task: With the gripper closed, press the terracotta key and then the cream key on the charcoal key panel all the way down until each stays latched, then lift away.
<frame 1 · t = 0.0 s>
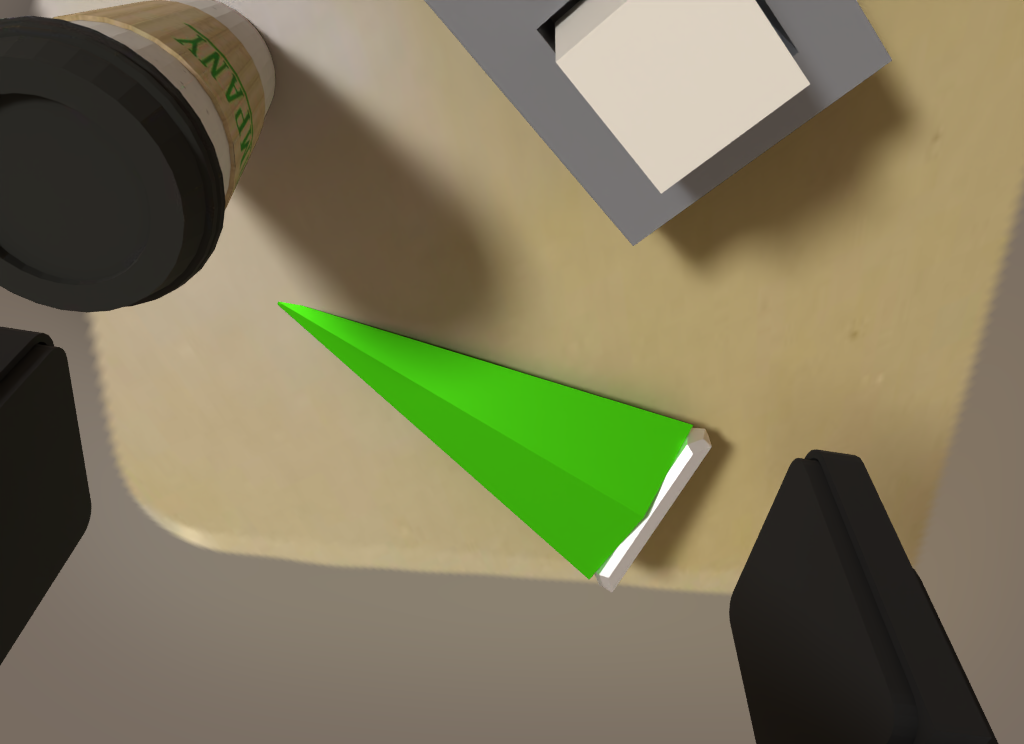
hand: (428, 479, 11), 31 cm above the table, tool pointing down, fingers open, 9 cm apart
green triangular piece: (491, 418, 50), on the table
coffee cup: (209, 67, 39), on the table
cream key: (672, 50, 31), point 8 cm above the table, slide at 0.0 cm
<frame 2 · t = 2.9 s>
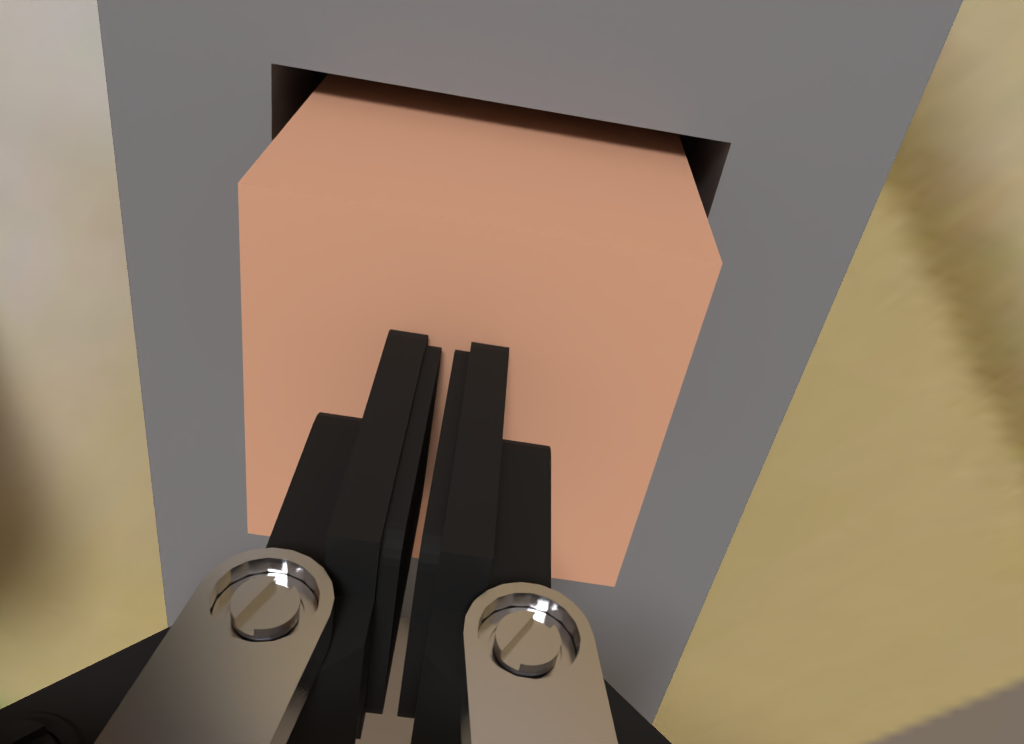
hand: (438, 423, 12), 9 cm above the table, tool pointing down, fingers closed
key panel: (464, 382, 23), on the table
terracotta key: (472, 309, 15), point 6 cm above the table, slide at 1.3 cm, touching gripper
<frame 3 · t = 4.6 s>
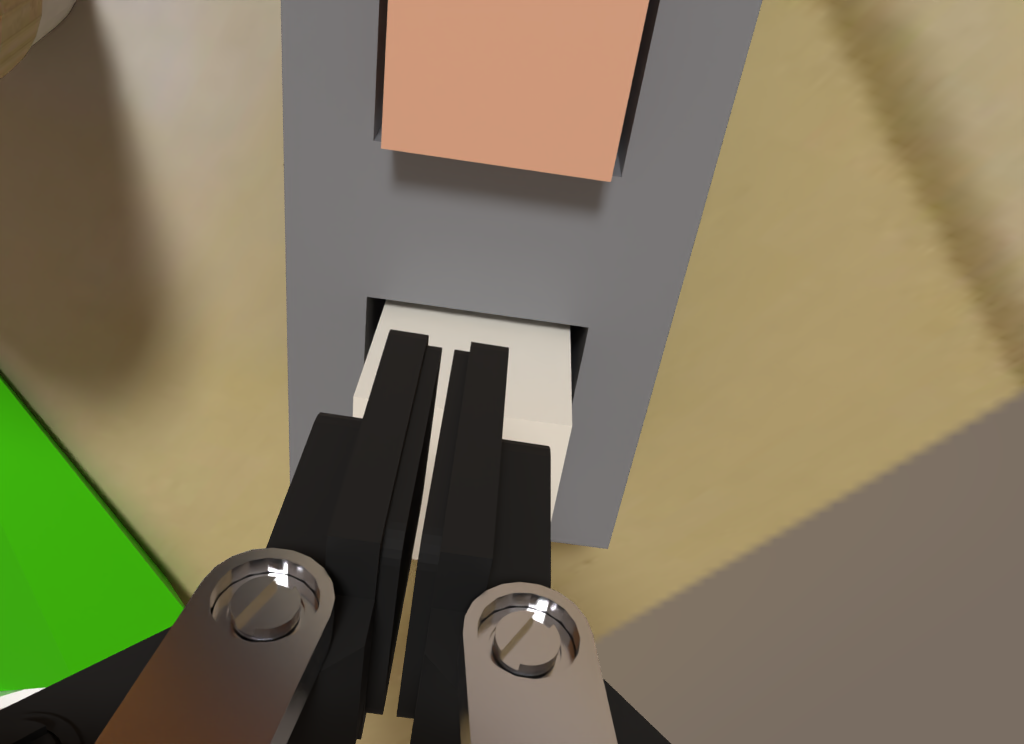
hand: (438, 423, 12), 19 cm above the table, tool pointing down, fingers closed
green triangular piece: (5, 473, 40), on the table
key panel: (499, 166, 30), on the table
terracotta key: (517, 18, 23), point 5 cm above the table, slide at 2.7 cm
cream key: (462, 428, 27), point 7 cm above the table, slide at 0.0 cm
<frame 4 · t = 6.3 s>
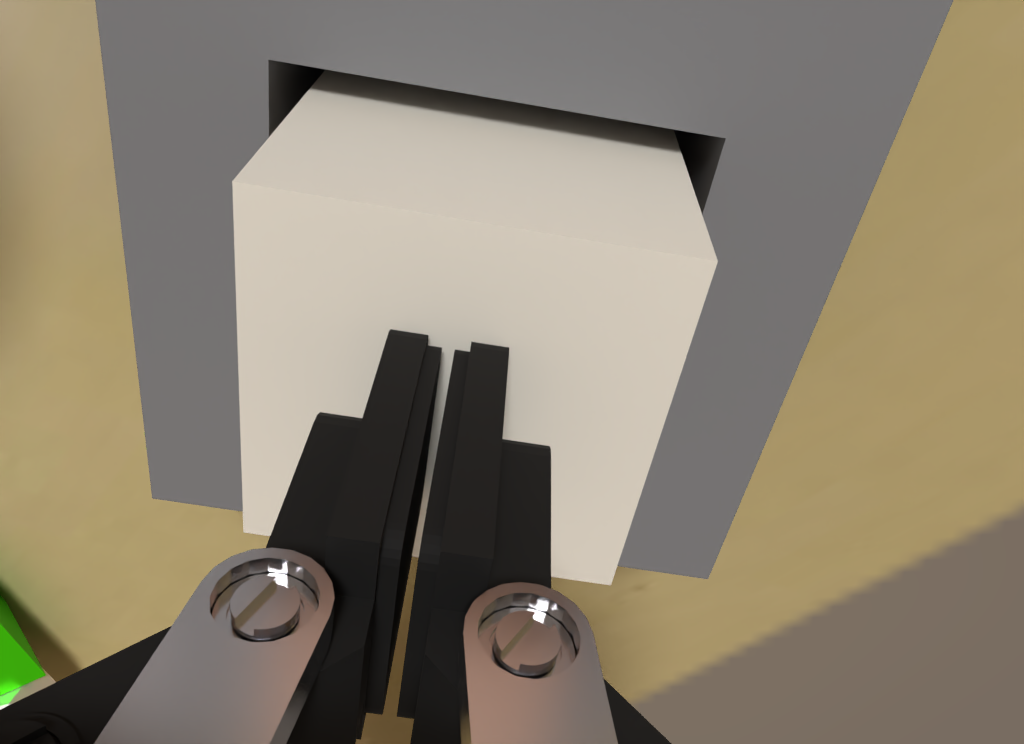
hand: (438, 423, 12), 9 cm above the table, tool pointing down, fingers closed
cream key: (468, 308, 15), point 6 cm above the table, slide at 1.2 cm, touching gripper
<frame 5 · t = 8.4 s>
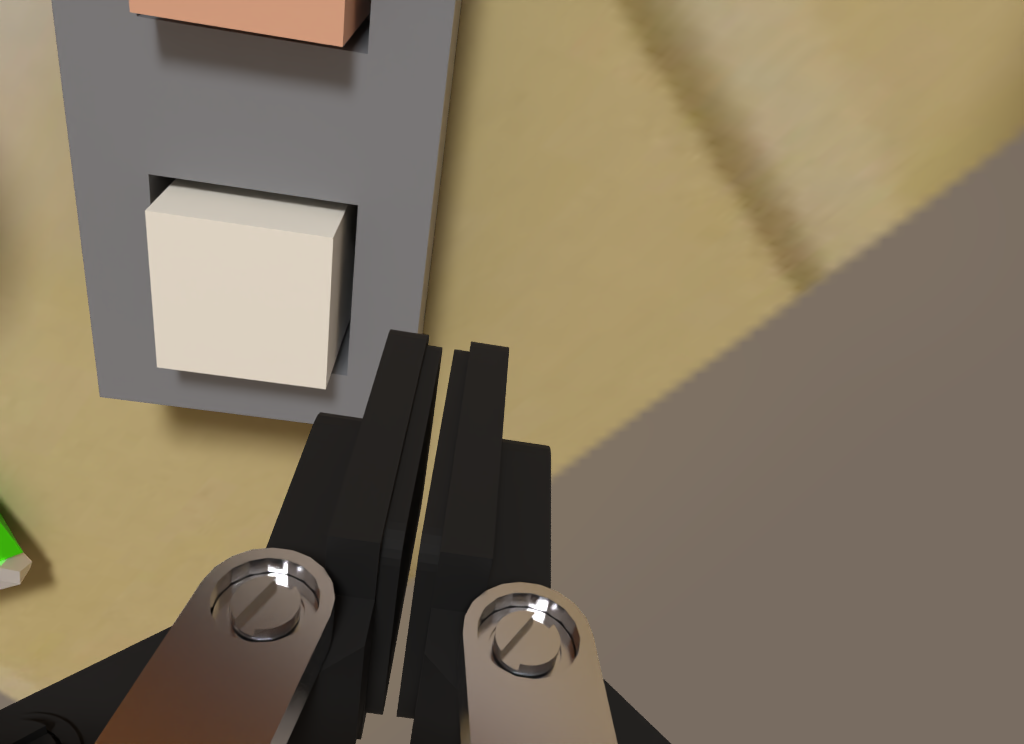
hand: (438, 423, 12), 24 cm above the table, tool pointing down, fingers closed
key panel: (294, 72, 32), on the table
cream key: (262, 267, 32), point 5 cm above the table, slide at 2.7 cm
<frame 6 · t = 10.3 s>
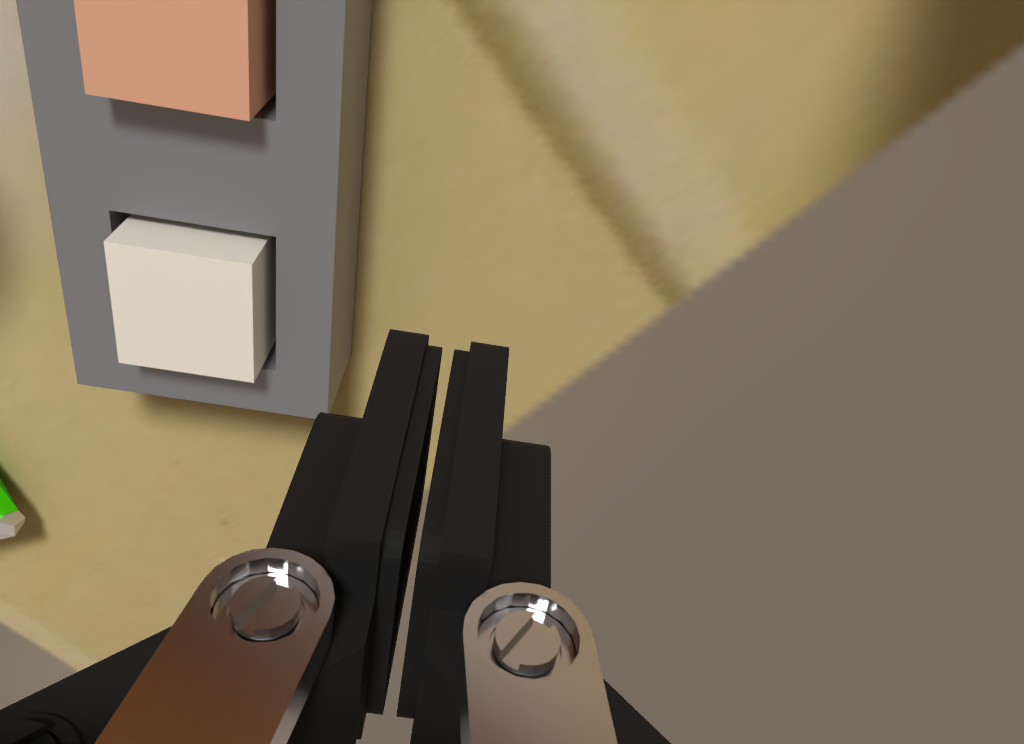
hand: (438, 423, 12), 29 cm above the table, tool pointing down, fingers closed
key panel: (235, 120, 39), on the table
terracotta key: (191, 5, 32), point 5 cm above the table, slide at 2.7 cm
cream key: (206, 282, 39), point 5 cm above the table, slide at 2.7 cm
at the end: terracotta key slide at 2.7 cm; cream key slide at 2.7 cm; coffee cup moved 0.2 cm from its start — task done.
